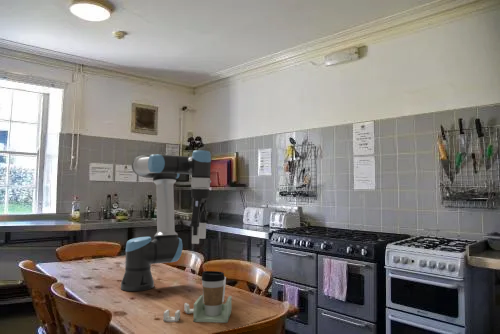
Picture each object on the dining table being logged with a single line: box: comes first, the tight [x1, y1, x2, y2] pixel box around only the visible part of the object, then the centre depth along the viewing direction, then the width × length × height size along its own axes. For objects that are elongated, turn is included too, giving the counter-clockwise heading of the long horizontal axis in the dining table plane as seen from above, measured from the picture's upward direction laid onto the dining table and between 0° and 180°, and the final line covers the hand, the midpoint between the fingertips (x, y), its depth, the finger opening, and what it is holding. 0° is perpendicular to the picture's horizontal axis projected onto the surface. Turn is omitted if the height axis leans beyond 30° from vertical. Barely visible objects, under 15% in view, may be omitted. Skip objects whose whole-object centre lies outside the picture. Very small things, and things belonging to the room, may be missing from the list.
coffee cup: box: [201, 270, 226, 316], centre depth 141 cm, size 8×8×15 cm
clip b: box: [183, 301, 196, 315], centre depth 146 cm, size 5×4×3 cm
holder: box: [192, 294, 233, 324], centre depth 140 cm, size 12×12×6 cm
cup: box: [201, 275, 227, 303], centre depth 159 cm, size 10×10×10 cm
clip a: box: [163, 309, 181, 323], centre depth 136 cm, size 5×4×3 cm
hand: (199, 241), depth 155 cm, fingers open, 13 cm apart
